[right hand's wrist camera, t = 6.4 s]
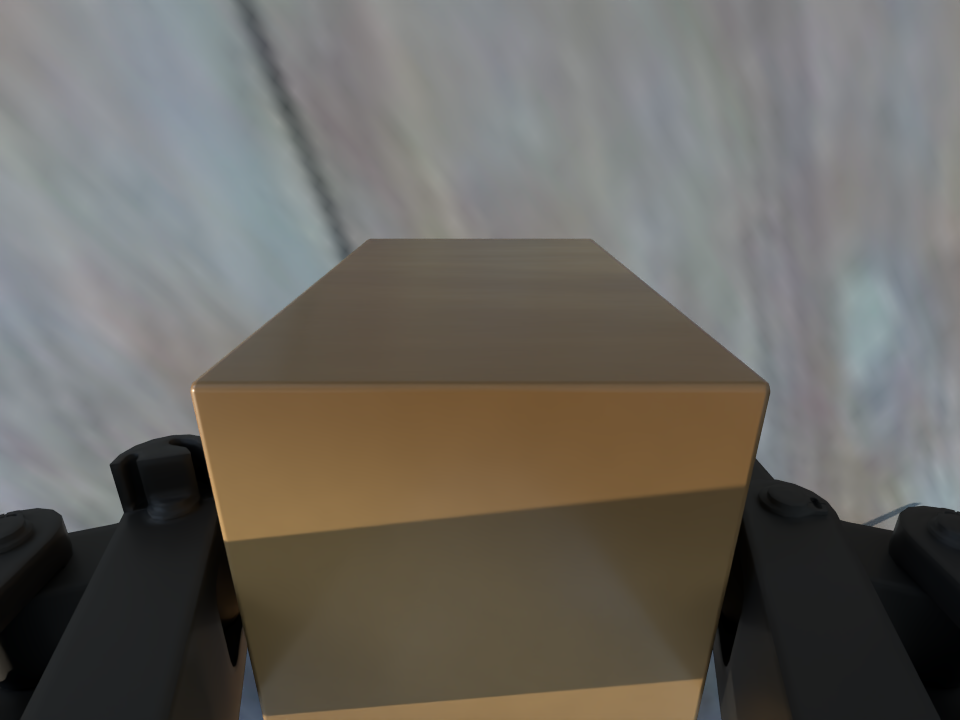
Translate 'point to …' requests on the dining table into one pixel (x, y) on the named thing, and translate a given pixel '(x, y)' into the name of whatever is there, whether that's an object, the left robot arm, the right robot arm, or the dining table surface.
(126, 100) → the dining table surface
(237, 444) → the bar
